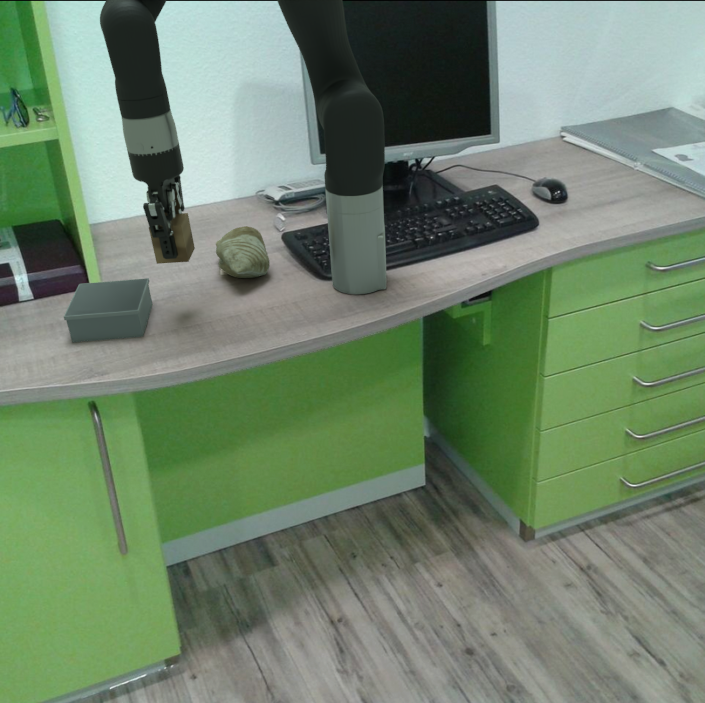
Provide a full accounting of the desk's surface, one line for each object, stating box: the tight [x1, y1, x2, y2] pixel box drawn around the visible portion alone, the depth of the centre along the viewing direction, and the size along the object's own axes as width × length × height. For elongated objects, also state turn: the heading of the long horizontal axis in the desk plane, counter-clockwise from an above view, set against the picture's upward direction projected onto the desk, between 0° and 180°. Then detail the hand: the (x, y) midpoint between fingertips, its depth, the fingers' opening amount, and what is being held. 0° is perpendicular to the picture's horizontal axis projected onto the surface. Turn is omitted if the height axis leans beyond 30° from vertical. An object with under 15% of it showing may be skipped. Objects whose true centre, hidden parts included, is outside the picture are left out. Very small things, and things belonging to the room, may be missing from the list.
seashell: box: [215, 226, 270, 279], centre depth 146 cm, size 14×9×10 cm
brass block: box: [148, 212, 196, 265], centre depth 129 cm, size 5×5×6 cm
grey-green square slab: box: [63, 277, 153, 343], centre depth 133 cm, size 11×11×5 cm
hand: (174, 249), depth 130 cm, fingers closed on brass block, 5 cm apart
